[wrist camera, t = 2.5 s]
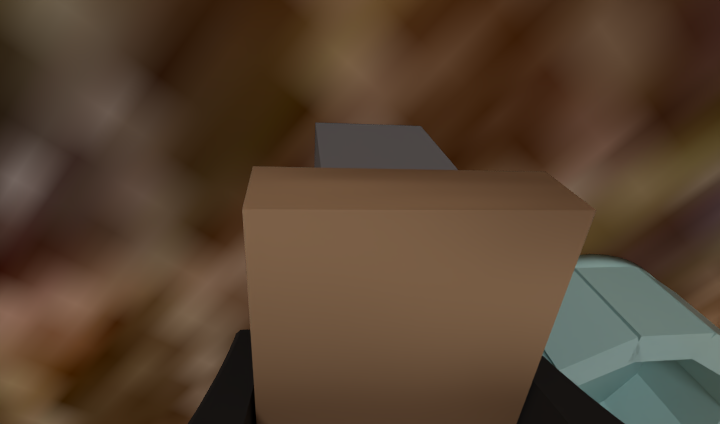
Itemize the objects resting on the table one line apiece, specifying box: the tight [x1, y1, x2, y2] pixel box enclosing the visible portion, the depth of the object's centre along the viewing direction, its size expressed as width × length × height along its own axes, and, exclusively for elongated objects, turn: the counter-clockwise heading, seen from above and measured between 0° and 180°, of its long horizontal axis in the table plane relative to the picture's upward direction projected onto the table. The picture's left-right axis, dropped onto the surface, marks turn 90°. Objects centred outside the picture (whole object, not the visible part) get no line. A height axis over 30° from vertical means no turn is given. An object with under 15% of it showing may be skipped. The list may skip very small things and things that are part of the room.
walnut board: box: [242, 166, 596, 424], centre depth 10 cm, size 11×6×2 cm, turn 176°
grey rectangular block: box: [315, 123, 458, 170], centre depth 12 cm, size 10×3×4 cm, turn 176°
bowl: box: [542, 254, 720, 424], centre depth 16 cm, size 9×9×4 cm
